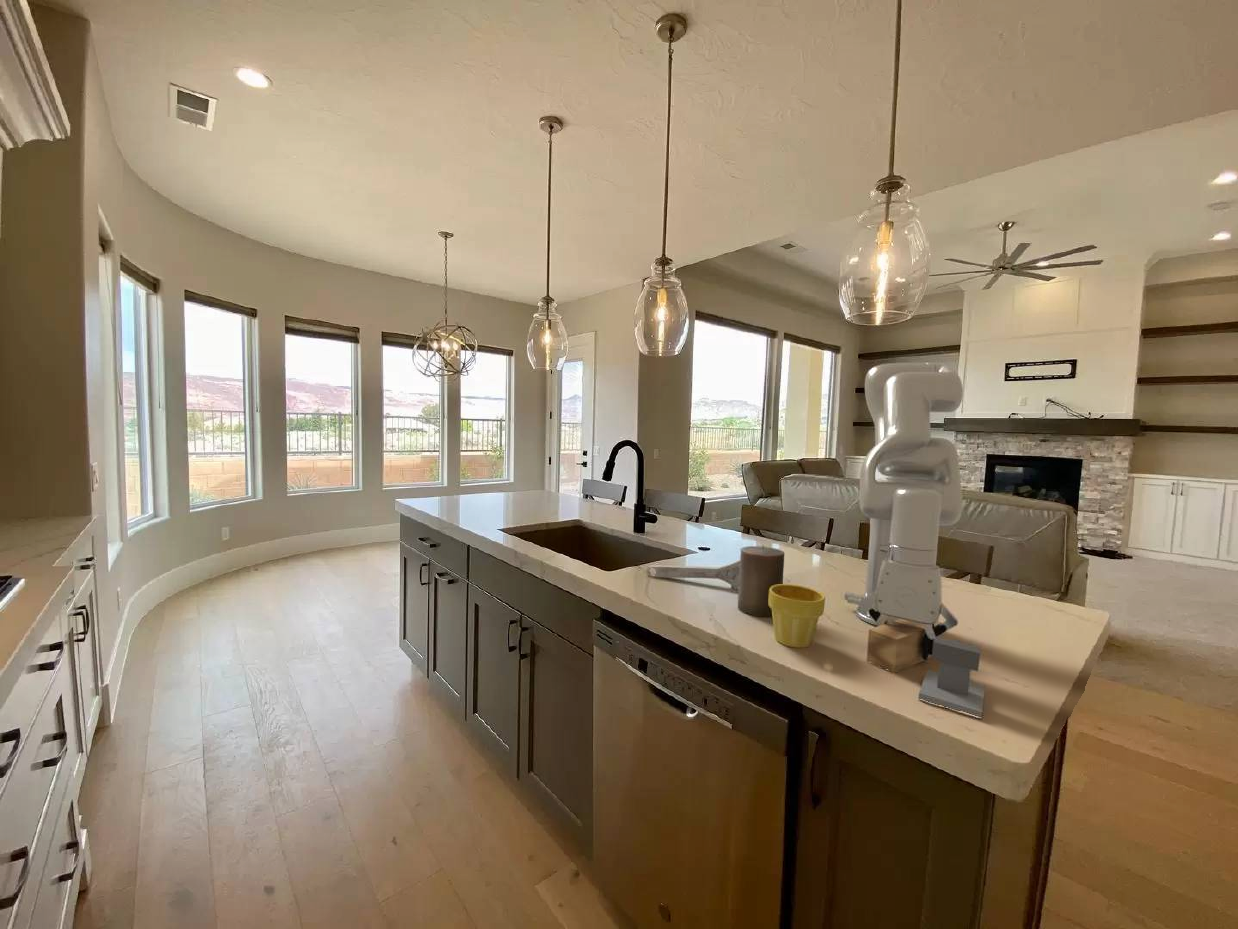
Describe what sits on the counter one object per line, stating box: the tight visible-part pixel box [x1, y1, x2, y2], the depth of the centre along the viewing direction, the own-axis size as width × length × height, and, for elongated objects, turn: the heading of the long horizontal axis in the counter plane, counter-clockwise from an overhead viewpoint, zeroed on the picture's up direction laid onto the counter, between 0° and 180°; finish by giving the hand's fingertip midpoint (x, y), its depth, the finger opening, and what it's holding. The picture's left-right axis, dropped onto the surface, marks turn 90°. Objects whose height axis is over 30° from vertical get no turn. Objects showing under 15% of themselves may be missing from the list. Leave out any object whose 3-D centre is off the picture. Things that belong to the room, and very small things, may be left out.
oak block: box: [866, 619, 943, 674], centre depth 94 cm, size 5×16×6 cm, turn 124°
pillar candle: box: [737, 544, 785, 618], centre depth 116 cm, size 10×10×15 cm
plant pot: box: [768, 583, 826, 648], centre depth 100 cm, size 10×10×10 cm
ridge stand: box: [918, 636, 986, 719], centre depth 81 cm, size 8×10×8 cm
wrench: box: [646, 559, 740, 590], centre depth 135 cm, size 8×2×30 cm
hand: (904, 650), depth 94 cm, fingers closed on oak block, 6 cm apart
